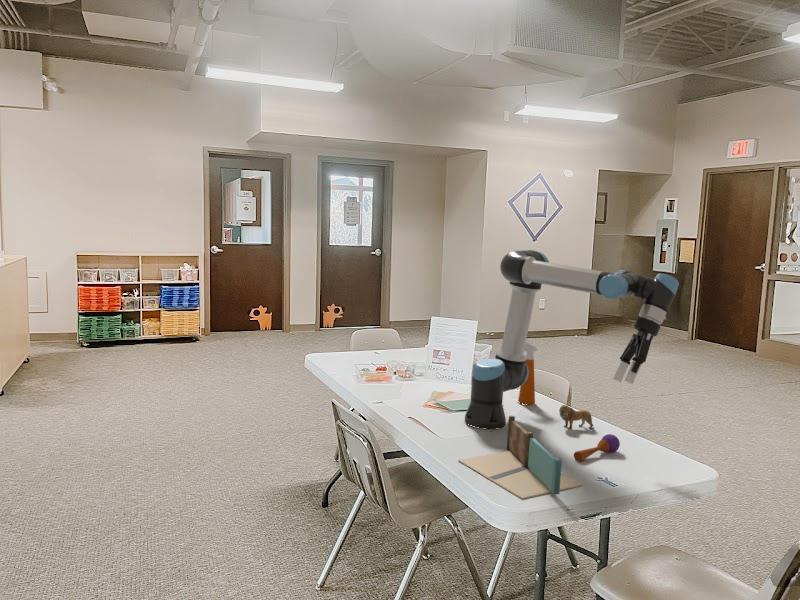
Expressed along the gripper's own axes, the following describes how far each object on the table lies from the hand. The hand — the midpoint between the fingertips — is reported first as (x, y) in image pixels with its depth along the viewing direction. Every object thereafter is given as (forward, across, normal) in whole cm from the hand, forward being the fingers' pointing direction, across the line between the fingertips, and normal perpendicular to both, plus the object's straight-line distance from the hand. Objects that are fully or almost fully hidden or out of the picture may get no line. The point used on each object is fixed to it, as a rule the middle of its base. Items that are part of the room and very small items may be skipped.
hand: (622, 381), depth 202 cm
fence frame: (+36, -1, +20) cm, 41 cm away
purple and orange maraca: (+25, +7, -4) cm, 27 cm away
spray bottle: (+21, +62, +17) cm, 68 cm away
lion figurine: (+20, +34, 0) cm, 40 cm away
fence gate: (+37, -20, +14) cm, 44 cm away
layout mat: (+39, -14, +20) cm, 46 cm away
